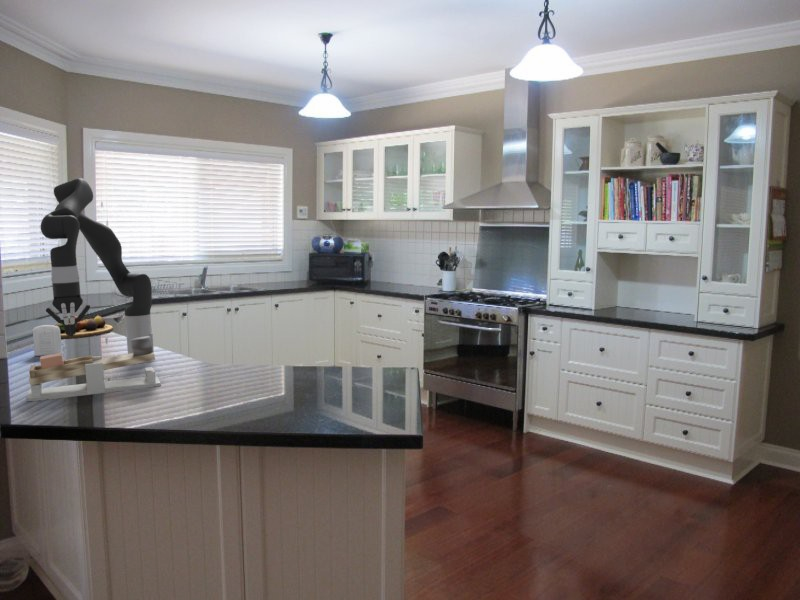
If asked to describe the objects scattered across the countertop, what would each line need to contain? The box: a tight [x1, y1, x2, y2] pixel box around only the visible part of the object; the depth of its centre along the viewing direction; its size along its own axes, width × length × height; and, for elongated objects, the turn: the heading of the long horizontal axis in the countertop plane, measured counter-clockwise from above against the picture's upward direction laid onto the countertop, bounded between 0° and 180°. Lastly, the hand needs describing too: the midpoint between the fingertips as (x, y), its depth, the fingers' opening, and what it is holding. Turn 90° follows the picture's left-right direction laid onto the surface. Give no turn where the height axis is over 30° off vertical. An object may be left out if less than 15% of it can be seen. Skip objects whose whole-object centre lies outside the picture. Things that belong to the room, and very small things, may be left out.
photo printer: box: [32, 324, 63, 357], centre depth 272 cm, size 10×4×12 cm, turn 98°
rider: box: [39, 352, 64, 369], centre depth 208 cm, size 6×5×5 cm
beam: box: [28, 336, 156, 387], centre depth 213 cm, size 36×9×7 cm, turn 115°
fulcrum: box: [26, 355, 161, 402], centre depth 213 cm, size 38×12×10 cm, turn 115°
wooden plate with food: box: [54, 315, 114, 340], centre depth 327 cm, size 32×32×8 cm
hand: (70, 336), depth 209 cm, fingers closed
